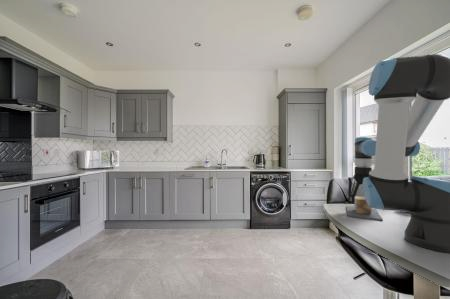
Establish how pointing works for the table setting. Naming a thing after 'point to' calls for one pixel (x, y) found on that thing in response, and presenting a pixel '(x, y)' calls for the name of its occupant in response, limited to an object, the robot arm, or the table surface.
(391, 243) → the table surface
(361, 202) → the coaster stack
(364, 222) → the table surface
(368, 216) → the mat
